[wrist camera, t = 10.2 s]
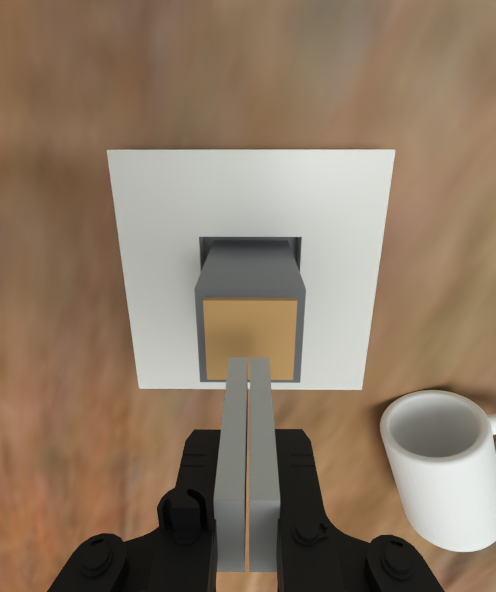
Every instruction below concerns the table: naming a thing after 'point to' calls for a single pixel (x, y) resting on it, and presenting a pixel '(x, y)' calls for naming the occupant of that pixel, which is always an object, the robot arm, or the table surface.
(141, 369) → the socket plate
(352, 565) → the robot arm
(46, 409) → the table surface
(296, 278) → the plug
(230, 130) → the table surface
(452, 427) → the mug
